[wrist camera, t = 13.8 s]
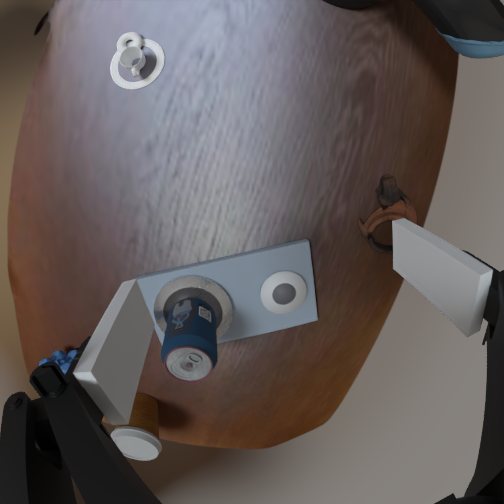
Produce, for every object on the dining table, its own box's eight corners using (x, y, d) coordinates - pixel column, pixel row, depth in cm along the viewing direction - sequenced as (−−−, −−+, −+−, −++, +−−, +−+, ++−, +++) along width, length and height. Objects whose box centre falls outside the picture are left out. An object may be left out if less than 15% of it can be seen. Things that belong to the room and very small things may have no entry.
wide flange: (222, 266, 43) (222, 270, 42) (239, 333, 47) (240, 337, 46) (144, 284, 43) (142, 287, 42) (168, 347, 47) (168, 351, 46)
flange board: (306, 238, 45) (311, 243, 42) (315, 316, 50) (319, 323, 47) (137, 276, 43) (134, 282, 41) (166, 348, 48) (164, 356, 46)
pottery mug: (412, 220, 46) (422, 253, 41) (361, 229, 50) (364, 262, 45) (404, 158, 39) (418, 186, 34) (346, 169, 43) (349, 198, 38)
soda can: (198, 340, 46) (196, 394, 34) (161, 317, 44) (148, 369, 32) (225, 310, 44) (229, 361, 33) (186, 285, 42) (179, 332, 31)
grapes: (53, 358, 47) (31, 398, 36) (52, 332, 45) (25, 372, 34) (106, 377, 49) (90, 422, 38) (107, 352, 47) (89, 398, 36)
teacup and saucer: (119, 35, 31) (110, 26, 27) (171, 35, 32) (167, 25, 29) (106, 89, 34) (96, 85, 30) (159, 90, 35) (153, 85, 31)
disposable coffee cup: (168, 418, 55) (164, 463, 43) (125, 414, 53) (116, 457, 42) (163, 389, 52) (157, 437, 40) (116, 384, 50) (103, 430, 39)
